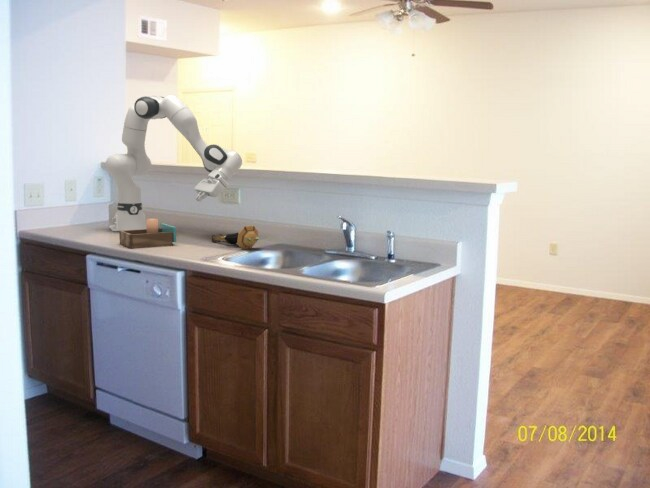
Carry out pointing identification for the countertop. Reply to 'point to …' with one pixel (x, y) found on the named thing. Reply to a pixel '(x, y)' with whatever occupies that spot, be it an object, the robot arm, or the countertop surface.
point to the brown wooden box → (145, 238)
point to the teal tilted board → (169, 230)
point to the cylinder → (152, 225)
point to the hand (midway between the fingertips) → (197, 200)
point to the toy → (240, 237)
